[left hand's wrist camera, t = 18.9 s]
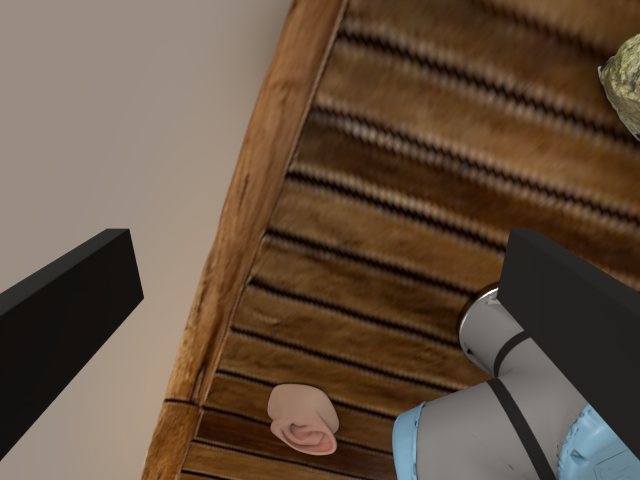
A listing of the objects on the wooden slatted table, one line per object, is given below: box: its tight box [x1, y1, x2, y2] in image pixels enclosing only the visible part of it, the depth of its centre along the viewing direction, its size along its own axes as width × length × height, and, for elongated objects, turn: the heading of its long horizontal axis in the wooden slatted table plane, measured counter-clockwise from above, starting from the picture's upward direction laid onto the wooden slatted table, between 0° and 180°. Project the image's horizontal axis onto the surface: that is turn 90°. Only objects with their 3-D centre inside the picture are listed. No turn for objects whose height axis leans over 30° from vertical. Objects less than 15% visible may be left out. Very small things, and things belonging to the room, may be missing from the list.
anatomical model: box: [268, 384, 339, 455], centre depth 58 cm, size 13×4×12 cm
